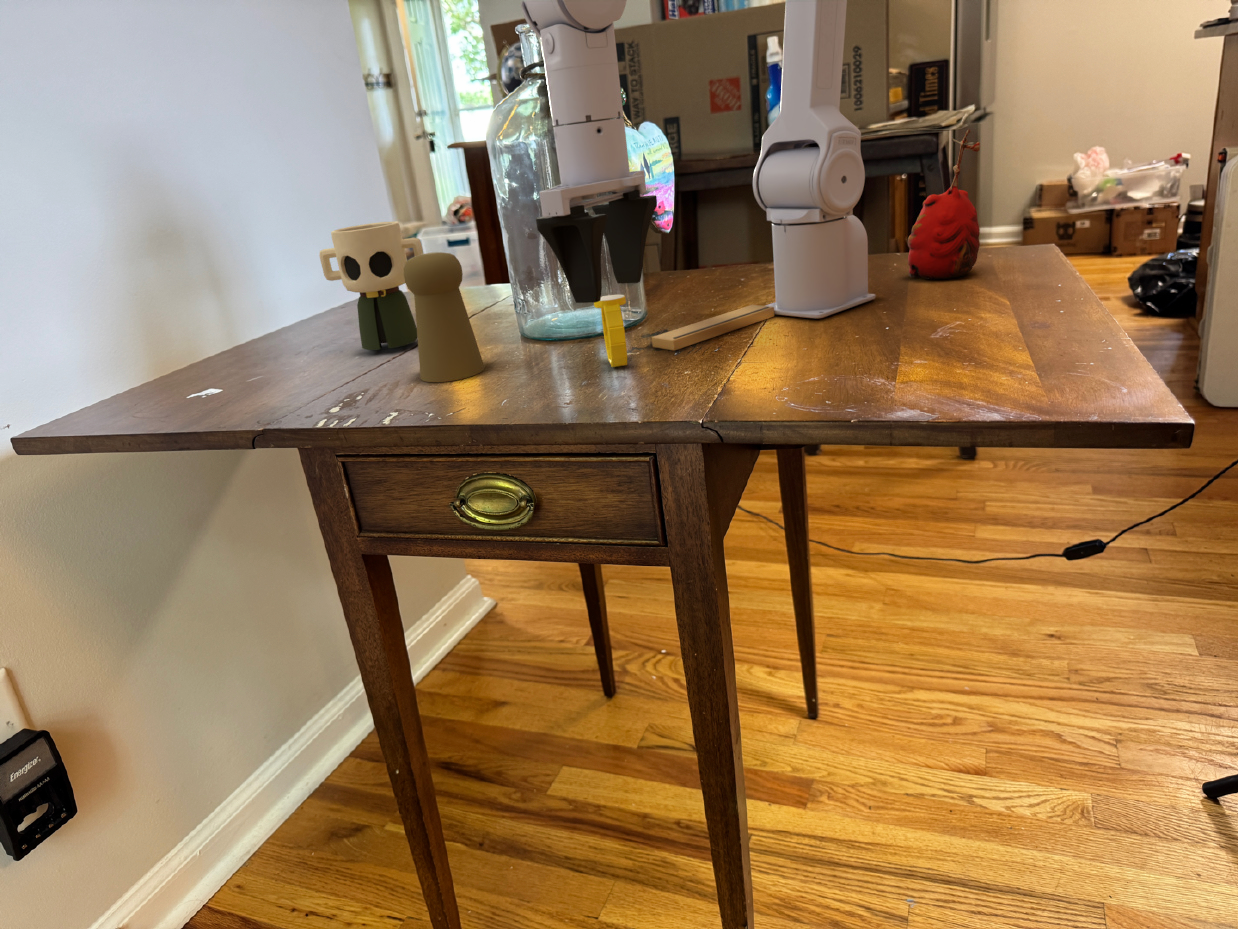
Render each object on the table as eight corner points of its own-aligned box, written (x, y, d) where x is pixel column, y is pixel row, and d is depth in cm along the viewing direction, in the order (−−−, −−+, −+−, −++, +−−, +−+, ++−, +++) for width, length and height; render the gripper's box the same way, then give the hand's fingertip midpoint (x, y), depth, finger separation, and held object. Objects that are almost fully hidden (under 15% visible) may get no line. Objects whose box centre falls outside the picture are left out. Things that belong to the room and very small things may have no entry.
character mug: (334, 361, 90) (302, 236, 85) (352, 345, 96) (324, 229, 92) (435, 349, 90) (409, 223, 85) (446, 334, 96) (423, 216, 91)
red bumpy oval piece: (945, 266, 98) (949, 128, 92) (994, 272, 92) (1001, 124, 86) (894, 278, 95) (894, 136, 90) (941, 285, 89) (944, 133, 83)
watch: (637, 370, 72) (629, 301, 70) (605, 374, 72) (596, 305, 70) (628, 353, 78) (621, 289, 76) (599, 358, 78) (590, 293, 76)
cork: (471, 380, 76) (447, 256, 72) (409, 384, 77) (383, 262, 73) (493, 361, 81) (472, 245, 77) (435, 365, 83) (412, 251, 79)
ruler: (752, 314, 87) (751, 303, 87) (774, 316, 85) (774, 305, 85) (652, 347, 79) (651, 336, 79) (674, 350, 77) (673, 339, 77)
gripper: (588, 121, 60) (611, 310, 65) (670, 112, 72) (685, 273, 77) (506, 132, 63) (534, 311, 68) (598, 122, 75) (616, 275, 80)
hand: (609, 291), depth 73 cm, fingers open, 7 cm apart
